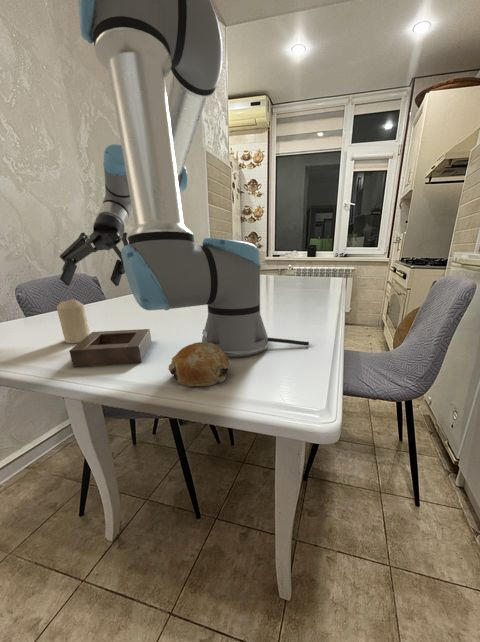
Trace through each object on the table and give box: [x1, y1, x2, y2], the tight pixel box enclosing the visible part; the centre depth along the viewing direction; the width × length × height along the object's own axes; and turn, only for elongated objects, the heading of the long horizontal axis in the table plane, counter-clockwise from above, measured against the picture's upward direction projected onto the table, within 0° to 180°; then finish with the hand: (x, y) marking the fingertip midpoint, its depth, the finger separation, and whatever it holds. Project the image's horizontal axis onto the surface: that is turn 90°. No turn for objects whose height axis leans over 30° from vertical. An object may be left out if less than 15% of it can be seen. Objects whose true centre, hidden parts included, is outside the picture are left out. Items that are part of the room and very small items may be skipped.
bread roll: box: [168, 341, 230, 388], centre depth 52 cm, size 10×10×8 cm
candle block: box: [68, 328, 153, 368], centre depth 63 cm, size 13×13×4 cm
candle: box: [56, 298, 91, 344], centre depth 70 cm, size 6×6×10 cm
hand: (89, 282), depth 76 cm, fingers open, 13 cm apart
